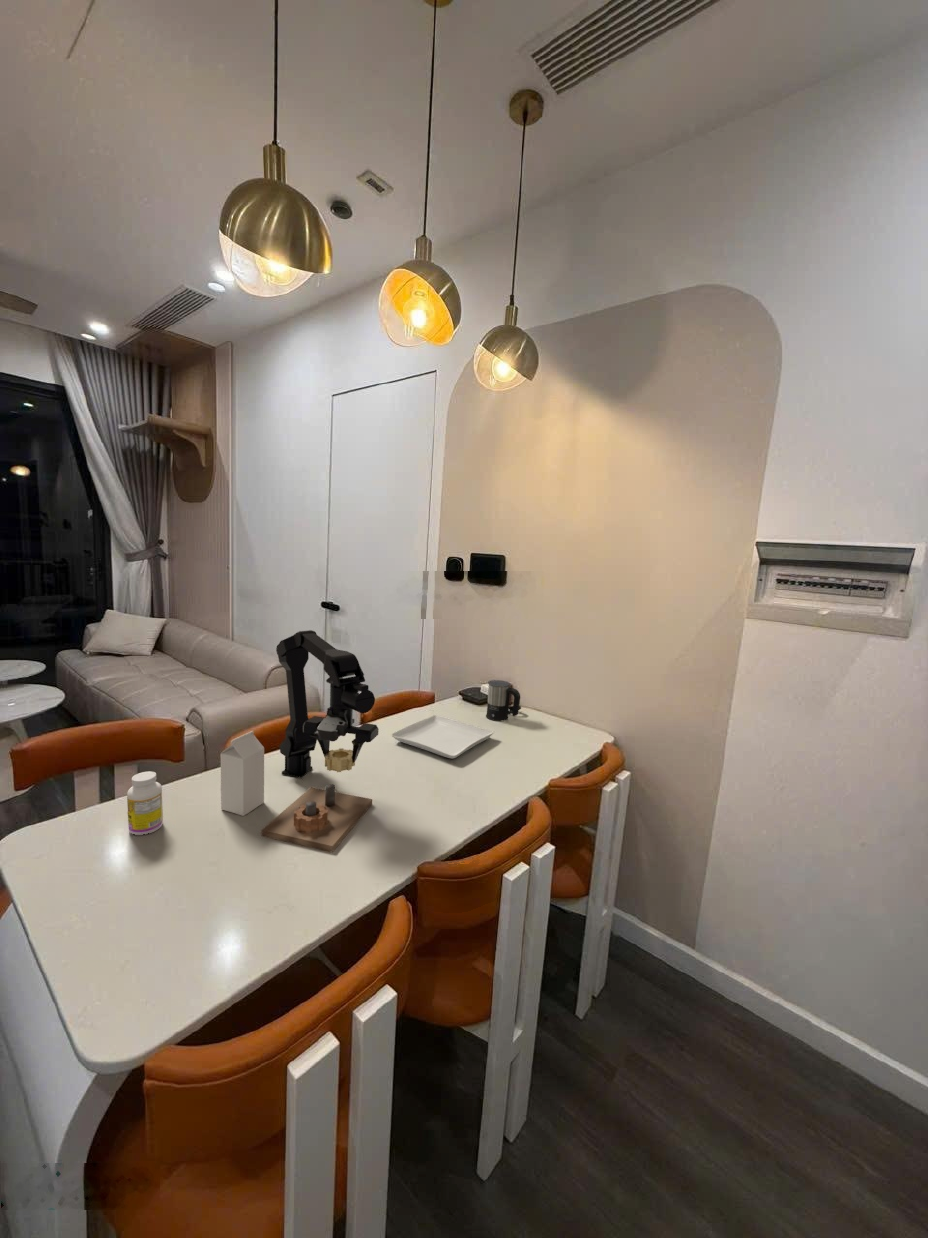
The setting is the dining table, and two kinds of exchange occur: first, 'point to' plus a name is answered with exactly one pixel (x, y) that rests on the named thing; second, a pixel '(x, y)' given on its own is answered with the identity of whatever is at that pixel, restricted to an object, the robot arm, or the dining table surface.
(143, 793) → the supplement bottle
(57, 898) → the dining table surface
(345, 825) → the gear board
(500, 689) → the milk frother
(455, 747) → the square plate
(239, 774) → the milk carton
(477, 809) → the dining table surface
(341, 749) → the wooden gear
